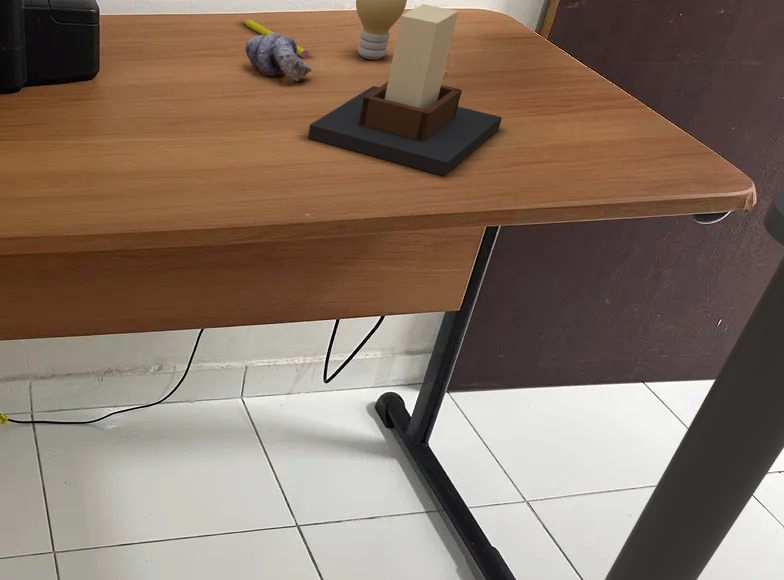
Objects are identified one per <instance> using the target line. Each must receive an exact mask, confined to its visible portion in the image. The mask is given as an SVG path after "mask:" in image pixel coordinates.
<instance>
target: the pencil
mask: <svg viewBox="0 0 784 580" xmlns="http://www.w3.org/2000/svg"><path fill="white" fill-rule="evenodd" d="M243 22H244V24H245V26H246V27H247V28H249V29H250V30H253V31H254V32H256V33H258V34H259V35H263V36H266V35H267V34H270V33H273V32H274V31H272V30H270V29H268V28H267V27H265V26H263V25H261V24H259V23H257V22H256V21H254V20H252V19H249V18H248V19H244V20H243ZM296 45H297V54H296V55H297V56H298V57H301V58H303V59H305V58H307V57H308V55H309V51H308V50H307V49H305V48H303V47H301V46H299V45H298V44H296Z"/></svg>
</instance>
